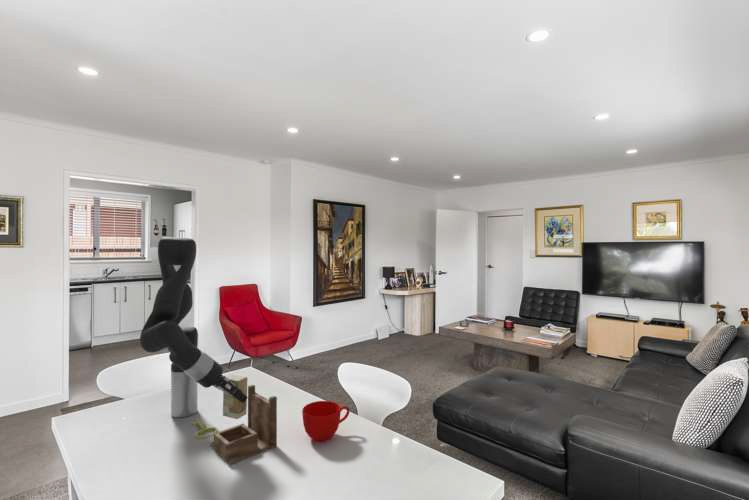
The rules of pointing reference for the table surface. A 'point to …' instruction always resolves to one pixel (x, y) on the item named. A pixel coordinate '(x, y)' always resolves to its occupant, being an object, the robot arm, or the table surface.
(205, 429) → the key
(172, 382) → the robot arm
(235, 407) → the skincare box
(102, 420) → the table surface
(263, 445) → the headboard stand
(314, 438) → the ceramic cup
